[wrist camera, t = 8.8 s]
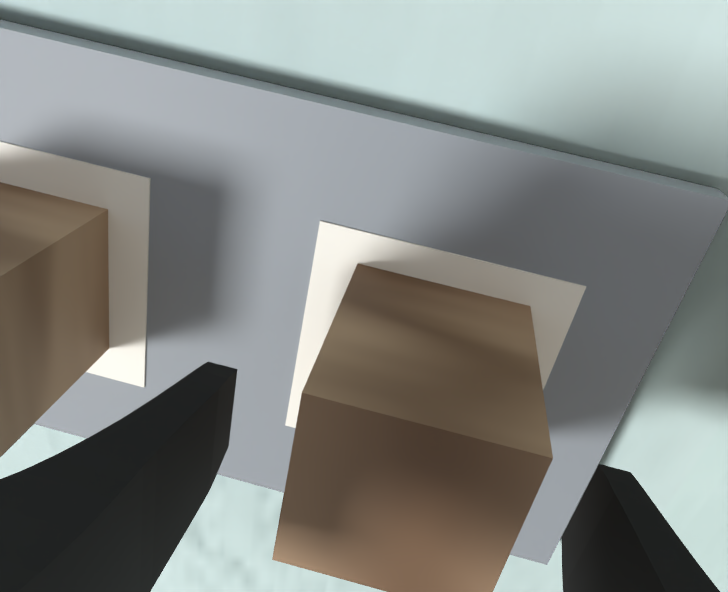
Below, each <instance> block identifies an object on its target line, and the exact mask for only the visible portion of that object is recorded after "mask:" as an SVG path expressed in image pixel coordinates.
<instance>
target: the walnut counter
mask: <svg viewBox="0 0 728 592" xmlns="http://www.w3.org/2000/svg"><path fill="white" fill-rule="evenodd" d="M552 460H553V455H552V448H551V441H550V434H549V428H548V421H547V414H546V408H545V401H544V394H543V387H542V381H541V374H540V367H539V360H538V354H537V347H536V340H535V334H534V327H533V320H532V313H531V307H530V306H528V305H524V304H520V303H516V302H512V301H508V300H504V299H499V298H495V297H491V296H487V295H483V294H479V293H475V292H471V291H467V290H463V289H459V288H455V287H451V286H447V285H443V284H439V283H435V282H431V281H427V280H423V279H419V278H415V277H411V276H407V275H403V274H399V273H394V272H390V271H386V270H382V269H378V268H374V267H370V266H366V265H362V264H358V263H357V266H356V268H355V270H354V273H353V275H352V277H351V280H350V282H349V284H348V287H347V289H346V291H345V294H344V296H343V298H342V301H341V303H340V305H339V308H338V310H337V312H336V314H335V317H334V319H333V321H332V324H331V326H330V328H329V331H328V333H327V335H326V338H325V340H324V342H323V345H322V347H321V349H320V352H319V354H318V356H317V359H316V361H315V363H314V365H313V368H312V370H311V372H310V375H309V377H308V379H307V382H306V384H305V386H304V389H303V391H302V394H301V400H300V406H299V411H298V417H297V423H296V428H295V434H294V440H293V445H292V451H291V457H290V462H289V468H288V474H287V479H286V485H285V491H284V496H283V502H282V508H281V513H280V519H279V525H278V530H277V536H276V542H275V547H274V553H273V559H272V560H276V561H279V562H283V563H286V564H290V565H294V566H297V567H301V568H304V569H308V570H312V571H315V572H319V573H322V574H326V575H329V576H333V577H337V578H340V579H344V580H347V581H351V582H355V583H358V584H362V585H365V586H369V587H373V588H376V589H380V590H383V591H387V592H493V590H494V588H495V585H496V583H497V581H498V579H499V577H500V574H501V572H502V570H503V568H504V566H505V563H506V561H507V559H508V557H509V555H510V552H511V550H512V548H513V546H514V543H515V541H516V539H517V537H518V535H519V532H520V530H521V528H522V526H523V524H524V521H525V519H526V517H527V515H528V513H529V510H530V508H531V506H532V504H533V502H534V499H535V497H536V495H537V493H538V491H539V488H540V486H541V484H542V482H543V479H544V477H545V475H546V473H547V471H548V468H549V466H550V464H551V462H552Z"/></svg>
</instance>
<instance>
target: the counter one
mask: <svg viewBox="0 0 728 592" xmlns="http://www.w3.org/2000/svg"><path fill="white" fill-rule="evenodd" d="M108 349H109V260H108V209H105V208H101V207H97V206H93V205H89V204H85V203H81V202H77V201H73V200H69V199H65V198H61V197H57V196H54V195H50V194H46V193H42V192H38V191H34V190H30V189H26V188H22V187H18V186H14V185H10V184H6V183H2V182H0V457H1V456H2V455H3V454H4V453H5V452H6V451H7V450H8V449H9V448H10V447H11V446H12V445H13V444H14V443H15V442H16V441H17V440H18V439H19V438H20V437H21V436H22V435H23V434H24V433H25V432H26V431H27V430H28V429H29V428H30V427H31V426H32V425H33V424H34V423H35V422H36V421H37V420H38V419H39V418H40V417H41V416H42V415H43V414H44V413H45V412H46V411H47V410H48V409H49V408H50V407H51V406H52V405H53V404H54V403H55V402H56V401H57V400H58V399H59V398H60V397H61V396H62V395H63V394H64V393H65V392H66V391H67V390H68V389H69V388H70V387H71V386H72V385H73V384H74V383H75V382H76V381H77V380H78V379H79V378H80V377H81V376H82V375H83V374H84V373H85V372H86V371H87V370H88V369H89V368H90V367H91V366H92V365H93V364H94V363H95V362H96V361H97V360H98V359H99V358H100V357H101V356H102V355H103V354H104V353H105V352H106V351H107V350H108Z"/></svg>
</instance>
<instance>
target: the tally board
mask: <svg viewBox="0 0 728 592" xmlns="http://www.w3.org/2000/svg"><path fill="white" fill-rule="evenodd" d="M0 182H2V183H6V184H10V185H14V186H18V187H22V188H26V189H30V190H34V191H38V192H42V193H46V194H50V195H54V196H57V197H61V198H65V199H69V200H73V201H77V202H81V203H85V204H89V205H93V206H97V207H101V208H105V209H108V260H109V349H108V350H107V351H106V352H105V353H104V354H103V355H102V356H101V357H100V358H99V359H98V360H97V361H96V362H95V363H94V364H93V365H92V366H91V367H90V368H89V369H88V370H87V371H86V372H85V373H84V374H83V375H82V376H81V377H80V378H79V379H78V380H77V381H76V382H75V383H74V384H73V385H72V386H71V387H70V388H69V389H68V390H67V391H66V392H65V393H64V394H63V395H62V396H61V397H60V398H59V399H58V400H57V401H56V402H55V403H54V404H53V405H52V406H51V407H50V408H49V409H48V410H47V411H46V412H45V413H44V414H43V415H42V416H41V417H40V418H39V419H38V420H37V421H36V422H35V423H34V424H36V425H40V426H44V427H47V428H51V429H55V430H58V431H62V432H65V433H69V434H73V435H76V436H80V437H84V438H89V437H90V436H92V435H94V434H96V433H97V432H99V431H101V430H103V429H104V428H106V427H108V426H110V425H111V424H113V423H115V422H117V421H118V420H120V419H122V418H123V417H125V416H126V415H128V414H130V413H131V412H133V411H134V410H136V409H137V408H139V407H141V406H142V405H144V404H145V403H147V402H148V401H150V400H151V399H153V398H155V397H156V396H158V395H159V394H161V393H162V392H163V391H165V390H166V389H168V388H169V387H171V386H172V385H174V384H175V383H177V382H178V381H180V380H181V379H182V378H184V377H185V376H187V375H188V374H190V373H191V372H192V371H194V370H195V369H197V368H198V367H200V366H201V365H203V364H205V363H206V362H212V363H216V364H220V365H223V366H227V367H231V368H235V369H237V378H236V387H235V395H234V404H233V413H232V422H231V430H230V439H229V447H228V449H227V451H226V454H225V456H224V459H223V461H222V463H221V466H220V468H219V470H218V473H217V474H218V475H222V476H226V477H229V478H233V479H237V480H240V481H244V482H248V483H251V484H255V485H259V486H262V487H266V488H269V489H273V490H277V491H280V492H284V491H285V485H286V479H287V474H288V468H289V462H290V457H291V451H292V445H293V440H294V434H295V428H296V423H297V417H298V411H299V406H300V400H301V394H302V391H303V389H304V386H305V384H306V382H307V379H308V377H309V375H310V372H311V370H312V368H313V365H314V363H315V361H316V359H317V356H318V354H319V352H320V349H321V347H322V345H323V342H324V340H325V338H326V335H327V333H328V331H329V328H330V326H331V324H332V321H333V319H334V317H335V314H336V312H337V310H338V308H339V305H340V303H341V301H342V298H343V296H344V294H345V291H346V289H347V287H348V284H349V282H350V280H351V277H352V275H353V273H354V270H355V268H356V266H357V263H358V264H362V265H366V266H370V267H374V268H378V269H382V270H386V271H390V272H394V273H399V274H403V275H407V276H411V277H415V278H419V279H423V280H427V281H431V282H435V283H439V284H443V285H447V286H451V287H455V288H459V289H463V290H467V291H471V292H475V293H479V294H483V295H487V296H491V297H495V298H499V299H504V300H508V301H512V302H516V303H520V304H524V305H528V306H530V307H531V313H532V320H533V327H534V334H535V340H536V347H537V354H538V360H539V367H540V374H541V381H542V387H543V394H544V401H545V408H546V414H547V421H548V428H549V434H550V441H551V448H552V455H553V460H552V462H551V464H550V466H549V468H548V471H547V473H546V475H545V477H544V479H543V482H542V484H541V486H540V488H539V491H538V493H537V495H536V497H535V499H534V502H533V504H532V506H531V508H530V510H529V513H528V515H527V517H526V519H525V521H524V524H523V526H522V528H521V530H520V532H519V535H518V537H517V539H516V541H515V543H514V546H513V548H512V550H511V552H510V555H514V556H517V557H521V558H524V559H528V560H532V561H535V562H539V563H543V564H546V565H547V564H548V562H549V560H550V558H551V556H552V554H553V552H554V550H555V548H556V546H557V544H558V542H559V540H560V538H561V536H562V534H563V533H564V531H565V529H566V527H567V525H568V523H569V521H570V519H571V517H572V515H573V513H574V511H575V509H576V507H577V505H578V503H579V501H580V499H581V497H582V495H583V493H584V491H585V489H586V487H587V485H588V483H589V481H590V480H591V478H592V476H593V474H594V472H595V470H596V468H597V466H598V464H599V462H600V460H601V458H602V456H603V454H604V452H605V450H606V448H607V446H608V444H609V442H610V440H611V438H612V436H613V434H614V432H615V430H616V428H617V426H618V425H619V423H620V421H621V419H622V417H623V415H624V413H625V411H626V409H627V407H628V405H629V403H630V401H631V399H632V397H633V395H634V393H635V391H636V389H637V387H638V385H639V383H640V381H641V379H642V377H643V375H644V373H645V372H646V370H647V368H648V366H649V364H650V362H651V360H652V358H653V356H654V354H655V352H656V350H657V348H658V346H659V344H660V342H661V340H662V338H663V336H664V334H665V332H666V330H667V328H668V326H669V324H670V322H671V320H672V319H673V317H674V315H675V313H676V311H677V309H678V307H679V305H680V303H681V301H682V299H683V297H684V295H685V293H686V291H687V289H688V287H689V285H690V283H691V281H692V279H693V277H694V275H695V273H696V271H697V269H698V267H699V266H700V264H701V262H702V260H703V258H704V256H705V254H706V252H707V250H708V248H709V246H710V244H711V242H712V240H713V238H714V236H715V234H716V232H717V230H718V228H719V226H720V224H721V222H722V220H723V218H724V216H725V214H726V213H727V211H728V197H727V196H726V195H725V194H724V193H723V192H722V191H720V190H719V189H717V188H713V187H709V186H704V185H700V184H696V183H692V182H687V181H683V180H679V179H675V178H670V177H666V176H662V175H658V174H654V173H649V172H645V171H641V170H637V169H632V168H628V167H624V166H620V165H615V164H611V163H607V162H603V161H598V160H594V159H590V158H586V157H581V156H577V155H573V154H569V153H565V152H560V151H556V150H552V149H548V148H543V147H539V146H535V145H531V144H526V143H522V142H518V141H514V140H509V139H505V138H501V137H497V136H492V135H488V134H484V133H480V132H476V131H471V130H467V129H463V128H459V127H454V126H450V125H446V124H442V123H437V122H433V121H429V120H425V119H420V118H416V117H412V116H408V115H403V114H399V113H395V112H391V111H387V110H382V109H378V108H374V107H370V106H365V105H361V104H357V103H353V102H348V101H344V100H340V99H336V98H331V97H327V96H323V95H319V94H314V93H310V92H306V91H302V90H298V89H293V88H289V87H285V86H281V85H276V84H272V83H268V82H264V81H259V80H255V79H251V78H247V77H242V76H238V75H234V74H230V73H226V72H221V71H217V70H213V69H209V68H204V67H200V66H196V65H192V64H187V63H183V62H179V61H175V60H170V59H166V58H162V57H158V56H153V55H149V54H145V53H141V52H137V51H132V50H128V49H124V48H120V47H115V46H111V45H107V44H103V43H98V42H94V41H90V40H86V39H81V38H77V37H73V36H69V35H64V34H60V33H56V32H52V31H48V30H43V29H39V28H35V27H31V26H26V25H22V24H18V23H14V22H9V21H5V20H1V19H0Z"/></svg>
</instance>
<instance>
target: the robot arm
mask: <svg viewBox="0 0 728 592" xmlns="http://www.w3.org/2000/svg"><path fill="white" fill-rule="evenodd" d="M236 378H237V369H235V368H231V367H227V366H223V365H220V364H216V363H212V362H206V363H205V364H203V365H201V366H200V367H198V368H197V369H195V370H194V371H192V372H191V373H190V374H188V375H187V376H185V377H184V378H182V379H181V380H180V381H178V382H177V383H175V384H174V385H172V386H171V387H169V388H168V389H166V390H165V391H163V392H162V393H161V394H159V395H158V396H156V397H155V398H153V399H151V400H150V401H148V402H147V403H145V404H144V405H142V406H141V407H139V408H137V409H136V410H134V411H133V412H131V413H130V414H128V415H126V416H125V417H123V418H122V419H120V420H118V421H117V422H115V423H113V424H111V425H110V426H108V427H106V428H104V429H103V430H101V431H99V432H97V433H96V434H94V435H92V436H90V437H89V438H87V439H85V440H83V441H82V442H80V443H78V444H76V445H74V446H72V447H70V448H68V449H66V450H65V451H63V452H61V453H59V454H57V455H55V456H53V457H50V458H48V459H46V460H44V461H42V462H40V463H38V464H36V465H34V466H31V467H29V468H27V469H25V470H22V471H20V472H18V473H15V474H13V475H10V476H8V477H5V478H3V479H0V592H150V591H151V589H152V588H153V586H154V584H155V582H156V581H157V579H158V577H159V576H160V574H161V572H162V571H163V569H164V567H165V566H166V564H167V562H168V560H169V559H170V557H171V555H172V554H173V552H174V550H175V549H176V547H177V545H178V544H179V542H180V540H181V539H182V537H183V535H184V533H185V532H186V530H187V528H188V527H189V525H190V523H191V522H192V520H193V518H194V516H195V515H196V513H197V511H198V510H199V508H200V506H201V504H202V503H203V501H204V499H205V497H206V496H207V494H208V492H209V490H210V488H211V486H212V484H213V481H214V479H215V477H216V475H217V473H218V470H219V468H220V466H221V463H222V461H223V459H224V456H225V454H226V451H227V449H228V447H229V439H230V430H231V422H232V413H233V404H234V395H235V387H236ZM562 575H563V592H720V591H719V590H718V589H717V587H716V586H715V585H714V584H713V582H712V581H711V580H710V578H709V577H708V576H707V575H706V573H705V572H704V571H703V569H702V568H701V567H700V566H699V564H698V563H697V562H696V560H695V559H694V558H693V556H692V555H691V554H690V552H689V551H688V550H687V548H686V547H685V546H684V544H683V543H682V542H681V540H680V539H679V537H678V536H677V535H676V533H675V532H674V531H673V529H672V528H671V527H670V525H669V524H668V522H667V521H666V520H665V518H664V517H663V515H662V514H661V513H660V511H659V510H658V509H657V507H656V506H655V504H654V503H653V502H652V500H651V499H650V497H649V496H648V495H647V493H646V492H645V491H644V489H643V488H642V487H641V485H640V484H639V483H638V481H637V480H636V479H635V477H634V476H633V475H632V474H631V472H627V471H624V470H620V469H616V468H612V467H608V466H604V465H601V464H598V466H597V468H596V470H595V472H594V474H593V476H592V478H591V480H590V482H589V484H588V486H587V488H586V490H585V492H584V494H583V496H582V498H581V500H580V502H579V504H578V506H577V508H576V510H575V512H574V513H573V515H572V517H571V519H570V521H569V523H568V525H567V527H566V529H565V531H564V533H563V535H562Z"/></svg>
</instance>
